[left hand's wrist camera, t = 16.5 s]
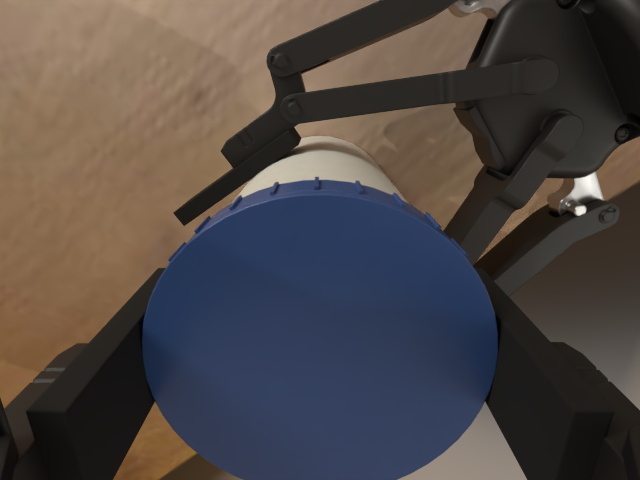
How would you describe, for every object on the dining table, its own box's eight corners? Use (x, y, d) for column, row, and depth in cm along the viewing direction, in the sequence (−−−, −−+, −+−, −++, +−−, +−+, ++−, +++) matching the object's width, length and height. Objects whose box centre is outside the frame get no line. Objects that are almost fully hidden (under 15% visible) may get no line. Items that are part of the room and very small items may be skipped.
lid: (102, 245, 11) (67, 270, 10) (431, 123, 10) (451, 128, 9) (241, 479, 14) (231, 527, 13) (506, 406, 13) (531, 448, 12)
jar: (409, 157, 25) (532, 246, 10) (365, 284, 28) (415, 490, 13) (267, 118, 24) (187, 154, 10) (238, 252, 27) (143, 435, 13)
